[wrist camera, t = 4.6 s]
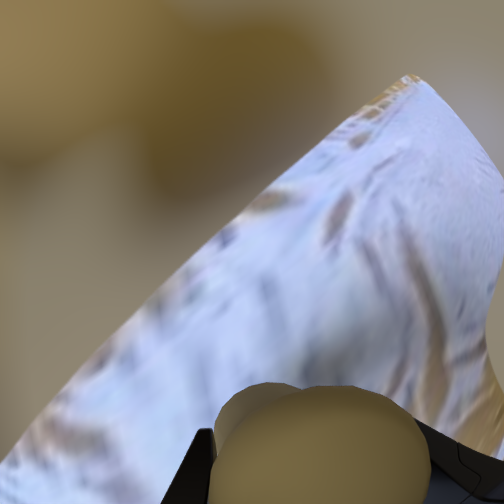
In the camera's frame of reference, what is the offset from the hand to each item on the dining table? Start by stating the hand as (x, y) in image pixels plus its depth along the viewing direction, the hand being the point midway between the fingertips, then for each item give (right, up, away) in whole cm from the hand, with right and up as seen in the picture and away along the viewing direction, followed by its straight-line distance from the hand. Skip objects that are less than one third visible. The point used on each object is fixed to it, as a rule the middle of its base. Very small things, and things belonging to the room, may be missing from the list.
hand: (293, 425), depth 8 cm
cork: (0, -4, +5) cm, 7 cm away
